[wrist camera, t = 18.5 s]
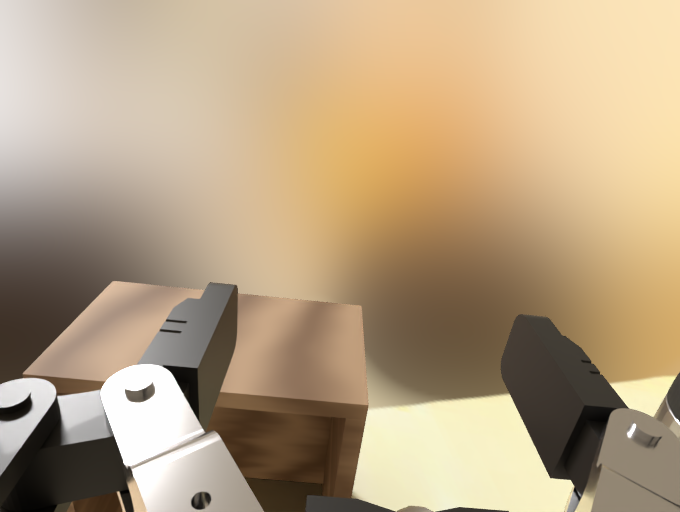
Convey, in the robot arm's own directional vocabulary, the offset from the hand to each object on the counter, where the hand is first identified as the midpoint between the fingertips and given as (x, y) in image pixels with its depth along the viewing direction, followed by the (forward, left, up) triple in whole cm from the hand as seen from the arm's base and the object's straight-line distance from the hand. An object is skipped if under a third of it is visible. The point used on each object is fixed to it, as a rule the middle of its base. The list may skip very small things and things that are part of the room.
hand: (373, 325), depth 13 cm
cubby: (+8, -15, -32) cm, 36 cm away
